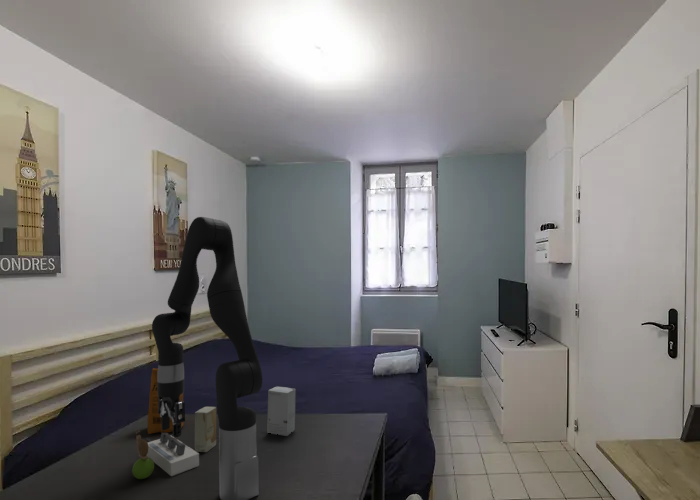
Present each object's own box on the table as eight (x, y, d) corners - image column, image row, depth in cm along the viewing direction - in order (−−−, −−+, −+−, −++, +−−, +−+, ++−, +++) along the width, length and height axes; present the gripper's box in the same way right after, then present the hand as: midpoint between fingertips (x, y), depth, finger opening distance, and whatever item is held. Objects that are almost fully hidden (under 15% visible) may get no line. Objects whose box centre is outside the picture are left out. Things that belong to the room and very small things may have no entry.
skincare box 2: (266, 433, 140) (266, 390, 141) (275, 427, 146) (275, 385, 146) (288, 436, 137) (287, 392, 138) (296, 429, 143) (295, 387, 144)
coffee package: (151, 425, 151) (151, 365, 152) (187, 422, 153) (186, 363, 154) (143, 435, 141) (143, 372, 142) (181, 432, 143) (180, 369, 145)
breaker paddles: (183, 453, 118) (185, 444, 118) (178, 454, 117) (180, 445, 117) (164, 440, 128) (166, 432, 128) (159, 441, 126) (161, 432, 127)
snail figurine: (147, 470, 116) (147, 427, 117) (157, 476, 112) (157, 432, 113) (127, 477, 112) (127, 433, 112) (137, 485, 108) (137, 439, 108)
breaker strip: (199, 465, 118) (198, 453, 118) (171, 476, 112) (171, 462, 112) (158, 437, 139) (158, 426, 139) (133, 445, 133) (133, 433, 134)
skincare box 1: (206, 453, 126) (206, 413, 127) (194, 452, 127) (193, 412, 128) (217, 444, 133) (216, 406, 133) (205, 443, 133) (205, 405, 134)
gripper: (193, 379, 121) (193, 435, 120) (173, 372, 131) (173, 423, 130) (167, 385, 116) (167, 443, 115) (149, 377, 125) (149, 430, 125)
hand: (171, 432), depth 122 cm, fingers open, 8 cm apart
